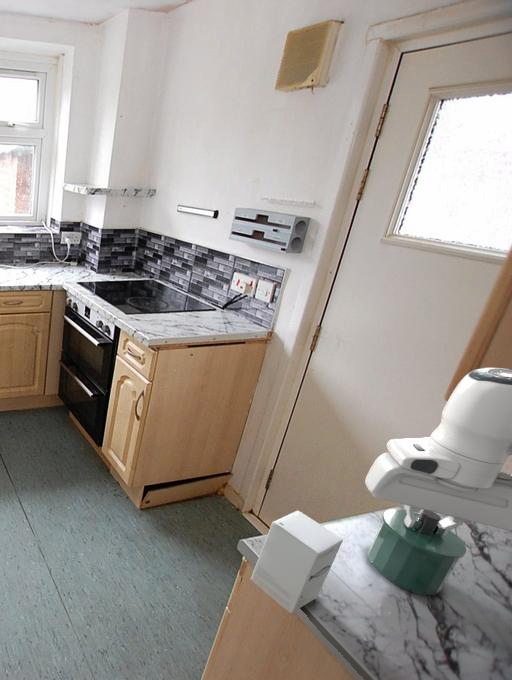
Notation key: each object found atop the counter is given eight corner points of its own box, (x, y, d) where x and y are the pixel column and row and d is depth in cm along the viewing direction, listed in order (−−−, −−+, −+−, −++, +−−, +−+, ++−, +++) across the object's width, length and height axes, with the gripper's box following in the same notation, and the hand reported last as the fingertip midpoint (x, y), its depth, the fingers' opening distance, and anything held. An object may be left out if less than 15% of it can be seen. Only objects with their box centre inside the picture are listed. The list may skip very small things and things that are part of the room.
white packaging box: (291, 616, 71) (318, 554, 67) (248, 579, 77) (270, 520, 73) (318, 599, 75) (345, 539, 70) (275, 565, 81) (297, 508, 76)
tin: (422, 559, 85) (442, 523, 82) (452, 604, 76) (475, 565, 73) (359, 541, 88) (375, 506, 85) (380, 582, 79) (399, 544, 76)
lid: (442, 525, 83) (453, 504, 81) (478, 570, 73) (492, 548, 71) (371, 506, 86) (380, 486, 84) (396, 548, 76) (408, 526, 74)
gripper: (526, 469, 74) (487, 536, 79) (378, 437, 80) (349, 501, 84) (556, 493, 68) (511, 563, 73) (393, 456, 74) (362, 523, 79)
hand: (423, 529), depth 79 cm, fingers closed on lid, 2 cm apart
